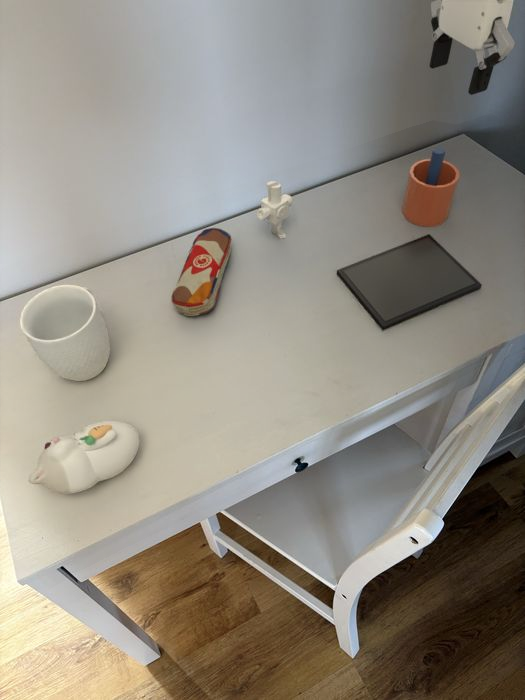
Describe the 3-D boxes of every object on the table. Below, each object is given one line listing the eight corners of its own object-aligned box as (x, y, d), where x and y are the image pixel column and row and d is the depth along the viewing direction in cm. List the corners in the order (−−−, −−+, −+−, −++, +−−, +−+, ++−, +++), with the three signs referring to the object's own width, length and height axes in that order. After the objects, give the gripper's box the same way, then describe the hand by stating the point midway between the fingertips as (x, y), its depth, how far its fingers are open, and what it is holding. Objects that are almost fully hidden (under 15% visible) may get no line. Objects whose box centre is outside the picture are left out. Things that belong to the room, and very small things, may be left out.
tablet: (428, 238, 101) (429, 233, 100) (480, 288, 93) (482, 284, 92) (336, 273, 97) (336, 269, 96) (382, 330, 88) (383, 326, 87)
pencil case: (152, 307, 94) (145, 288, 90) (205, 238, 104) (202, 217, 100) (207, 326, 91) (203, 306, 87) (256, 252, 101) (254, 232, 97)
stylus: (426, 204, 106) (440, 145, 96) (433, 210, 105) (448, 151, 95) (417, 208, 106) (430, 148, 95) (423, 214, 104) (437, 155, 94)
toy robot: (254, 241, 103) (250, 188, 94) (282, 221, 106) (281, 169, 97) (268, 250, 101) (265, 198, 92) (297, 230, 104) (297, 178, 95)
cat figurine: (129, 403, 71) (13, 452, 66) (154, 458, 71) (39, 513, 65) (124, 410, 80) (22, 454, 74) (146, 460, 79) (44, 508, 74)
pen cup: (430, 193, 109) (439, 153, 102) (457, 217, 104) (469, 178, 97) (393, 206, 107) (400, 167, 100) (419, 232, 102) (429, 192, 95)
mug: (69, 320, 93) (40, 265, 83) (131, 321, 92) (110, 266, 82) (43, 392, 84) (7, 341, 74) (111, 394, 83) (84, 342, 73)
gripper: (557, -38, 67) (513, 96, 81) (468, -74, 77) (442, 51, 91) (510, -25, 66) (473, 109, 79) (425, -63, 75) (405, 62, 89)
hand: (457, 78), depth 85 cm, fingers open, 9 cm apart
